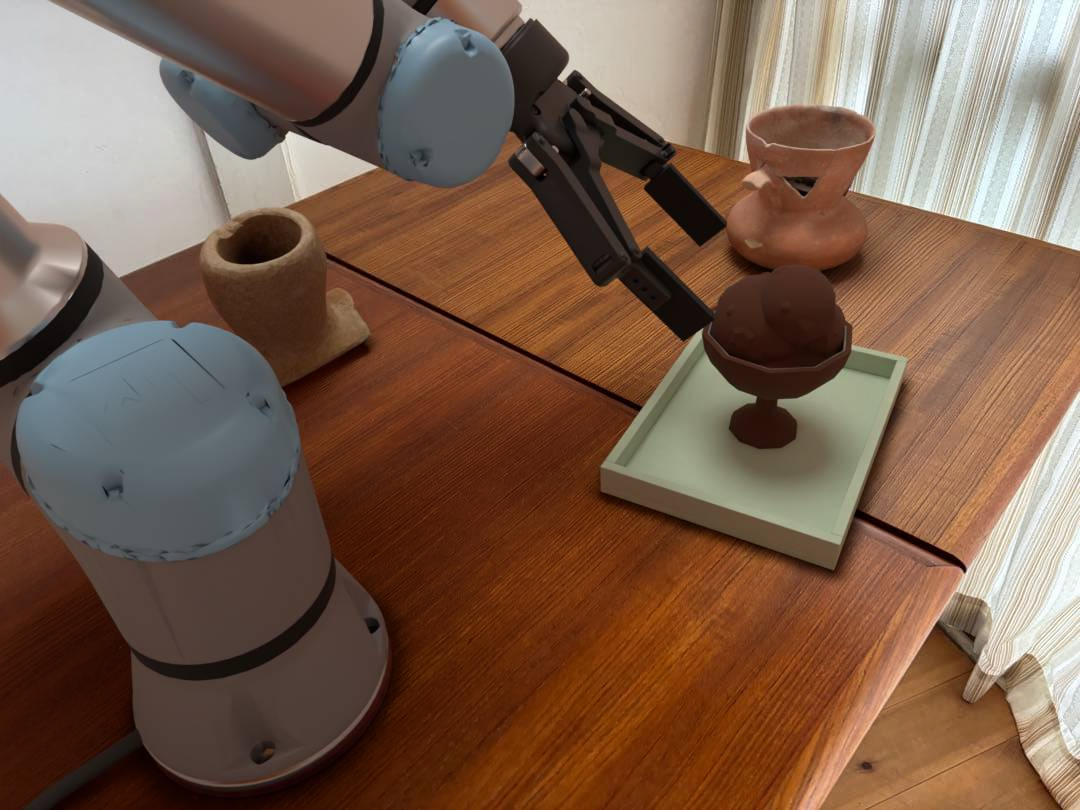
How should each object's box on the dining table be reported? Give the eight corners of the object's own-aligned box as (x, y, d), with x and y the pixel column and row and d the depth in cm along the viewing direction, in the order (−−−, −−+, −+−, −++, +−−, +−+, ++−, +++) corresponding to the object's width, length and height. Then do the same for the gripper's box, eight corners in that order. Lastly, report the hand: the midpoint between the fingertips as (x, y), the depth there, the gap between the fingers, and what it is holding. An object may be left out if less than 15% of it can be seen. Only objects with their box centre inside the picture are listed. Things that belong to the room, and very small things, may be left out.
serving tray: (833, 570, 57) (840, 545, 56) (600, 491, 65) (600, 466, 63) (902, 382, 73) (908, 357, 72) (708, 335, 81) (710, 312, 79)
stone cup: (263, 424, 73) (212, 272, 64) (203, 369, 81) (149, 225, 71) (405, 350, 81) (378, 205, 72) (338, 306, 88) (306, 169, 79)
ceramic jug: (793, 307, 84) (814, 170, 75) (688, 255, 93) (696, 128, 84) (903, 247, 92) (933, 117, 83) (796, 205, 101) (813, 84, 92)
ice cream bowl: (834, 395, 71) (867, 234, 62) (827, 484, 63) (864, 313, 54) (707, 378, 74) (721, 221, 65) (685, 461, 66) (698, 294, 57)
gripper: (469, 76, 43) (740, 345, 49) (567, -30, 62) (754, 174, 68) (388, 170, 48) (646, 407, 54) (503, 45, 67) (684, 230, 73)
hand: (707, 277), depth 61 cm, fingers open, 13 cm apart
